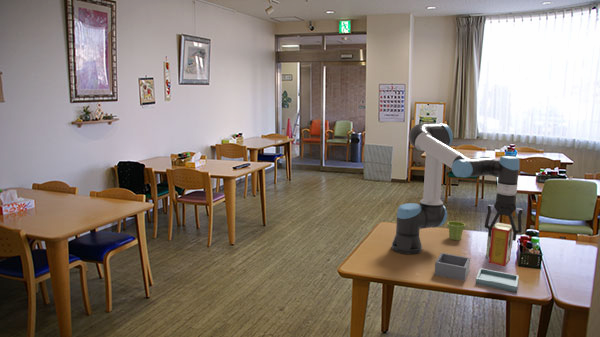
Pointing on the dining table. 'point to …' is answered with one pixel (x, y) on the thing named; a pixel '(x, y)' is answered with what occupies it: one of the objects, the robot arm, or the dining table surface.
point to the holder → (452, 266)
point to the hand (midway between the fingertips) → (501, 245)
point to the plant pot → (455, 230)
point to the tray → (497, 280)
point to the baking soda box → (500, 244)
